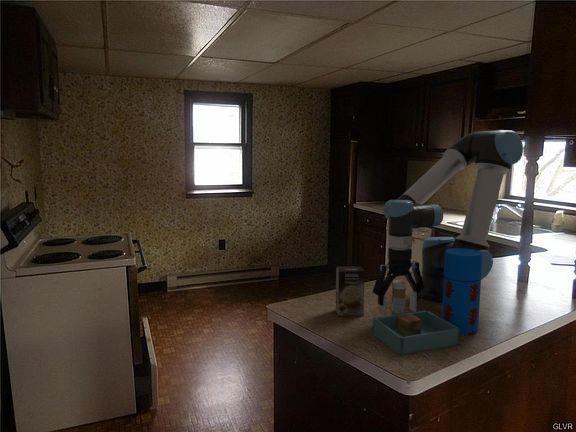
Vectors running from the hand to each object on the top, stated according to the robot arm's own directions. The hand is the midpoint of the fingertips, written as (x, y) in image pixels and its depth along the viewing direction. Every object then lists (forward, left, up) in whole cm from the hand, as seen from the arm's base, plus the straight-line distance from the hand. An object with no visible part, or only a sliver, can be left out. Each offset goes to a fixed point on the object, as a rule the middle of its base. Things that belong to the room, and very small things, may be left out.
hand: (398, 312), depth 143 cm
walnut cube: (+3, +11, -2) cm, 12 cm away
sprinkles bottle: (0, 0, -3) cm, 3 cm away
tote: (+3, +14, -3) cm, 15 cm away
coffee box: (+12, -12, -3) cm, 17 cm away
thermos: (-15, +12, -3) cm, 19 cm away
